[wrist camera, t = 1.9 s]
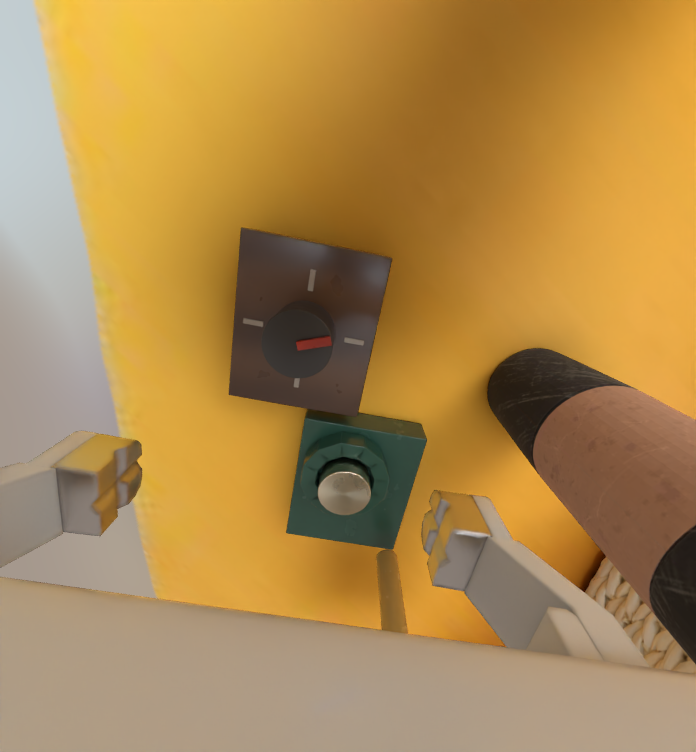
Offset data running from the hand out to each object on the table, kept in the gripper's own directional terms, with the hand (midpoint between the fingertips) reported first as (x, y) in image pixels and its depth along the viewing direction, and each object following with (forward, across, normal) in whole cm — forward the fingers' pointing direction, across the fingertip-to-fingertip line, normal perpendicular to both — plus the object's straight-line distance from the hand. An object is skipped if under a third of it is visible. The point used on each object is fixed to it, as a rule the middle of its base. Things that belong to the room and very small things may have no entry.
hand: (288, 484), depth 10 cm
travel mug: (+19, -17, +2) cm, 26 cm away
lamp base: (+19, -4, +13) cm, 24 cm away
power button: (+15, -3, +11) cm, 19 cm away
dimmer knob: (+16, +2, 0) cm, 16 cm away
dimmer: (+19, +2, 0) cm, 19 cm away
